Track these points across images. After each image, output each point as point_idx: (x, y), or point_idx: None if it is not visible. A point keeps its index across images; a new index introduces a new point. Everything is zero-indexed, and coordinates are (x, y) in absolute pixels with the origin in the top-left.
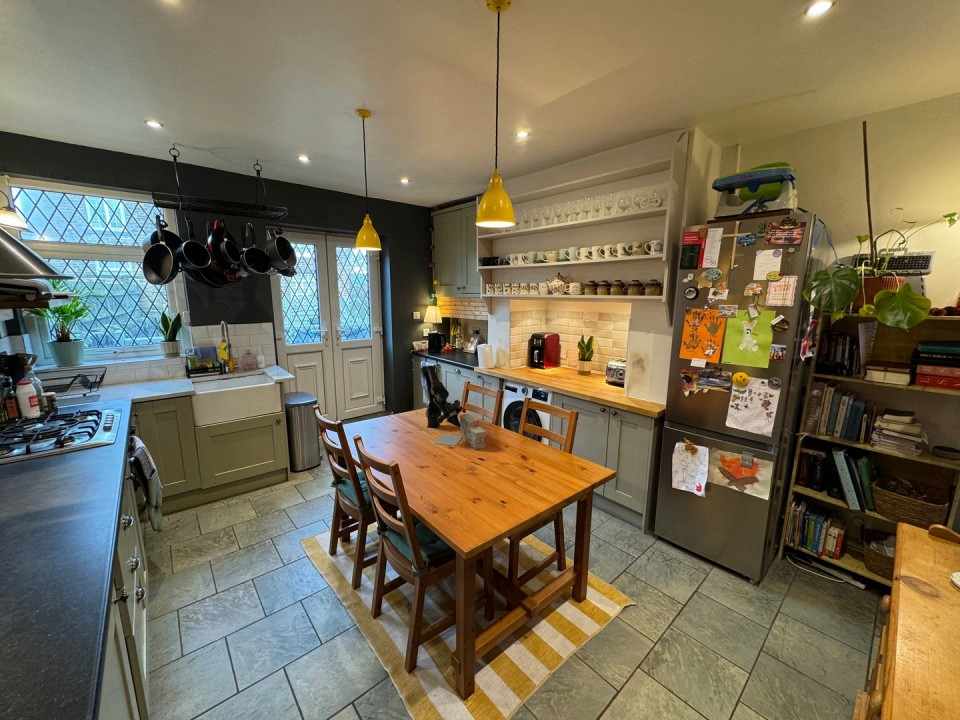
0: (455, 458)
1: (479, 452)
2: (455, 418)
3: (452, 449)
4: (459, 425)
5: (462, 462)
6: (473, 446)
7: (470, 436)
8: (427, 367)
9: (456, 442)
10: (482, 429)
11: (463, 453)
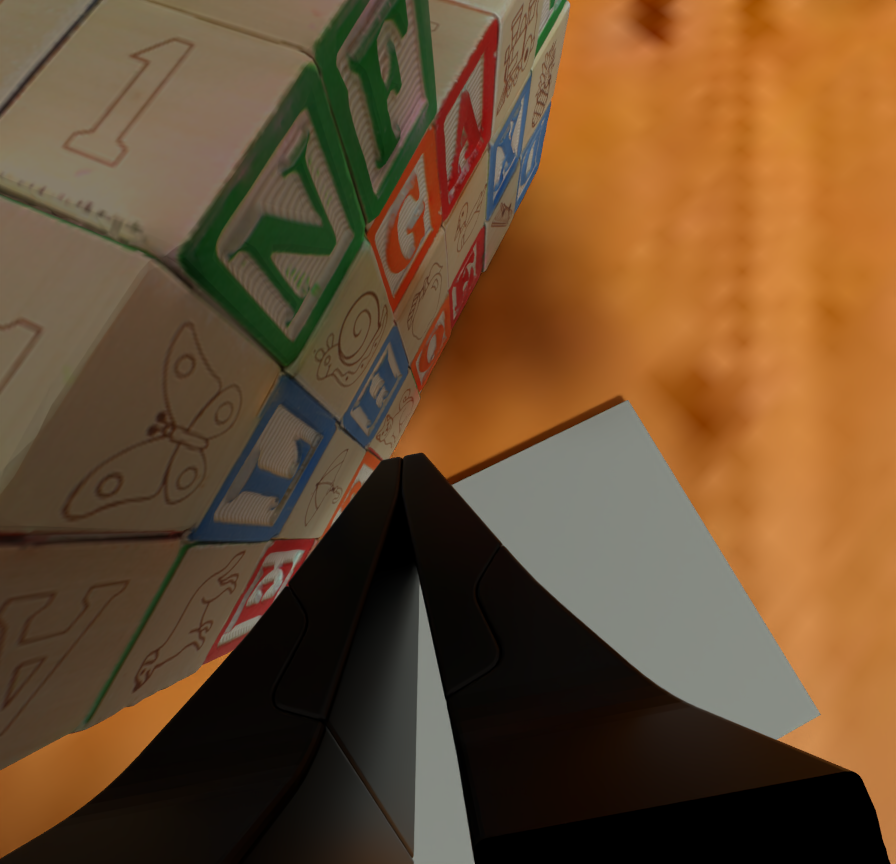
0: (854, 180)
1: (552, 105)
2: (351, 765)
3: (727, 360)
4: (421, 461)
5: (850, 80)
6: (525, 181)
7: (491, 175)
8: None
9: (547, 460)
10: None
11: (699, 199)
